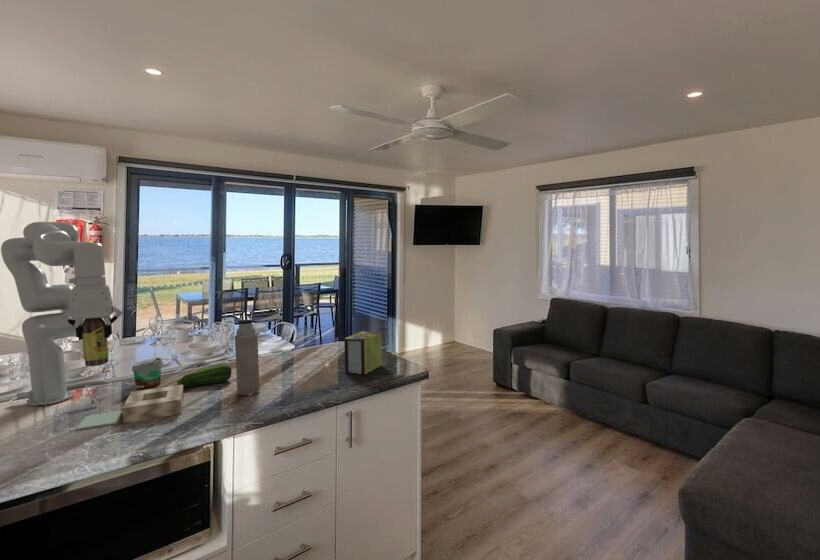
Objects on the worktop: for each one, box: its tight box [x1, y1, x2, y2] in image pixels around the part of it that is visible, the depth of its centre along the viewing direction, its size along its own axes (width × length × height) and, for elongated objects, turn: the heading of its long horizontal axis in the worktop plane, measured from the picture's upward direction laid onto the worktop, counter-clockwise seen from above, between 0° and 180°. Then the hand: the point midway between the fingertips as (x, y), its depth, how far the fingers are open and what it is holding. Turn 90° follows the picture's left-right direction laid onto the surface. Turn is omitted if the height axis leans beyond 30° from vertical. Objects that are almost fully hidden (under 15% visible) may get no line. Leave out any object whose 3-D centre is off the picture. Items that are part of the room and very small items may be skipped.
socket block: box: [121, 384, 185, 424], centre depth 139 cm, size 16×16×5 cm
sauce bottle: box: [81, 318, 110, 367], centre depth 128 cm, size 6×6×20 cm
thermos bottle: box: [234, 319, 261, 396], centre depth 154 cm, size 8×8×28 cm
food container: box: [131, 357, 164, 391], centre depth 162 cm, size 12×6×10 cm, turn 168°
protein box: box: [343, 331, 382, 375], centre depth 182 cm, size 10×15×16 cm
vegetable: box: [176, 364, 232, 388], centre depth 164 cm, size 7×7×20 cm
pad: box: [76, 410, 123, 431], centre depth 131 cm, size 10×10×1 cm
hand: (94, 337), depth 128 cm, fingers closed on sauce bottle, 6 cm apart
